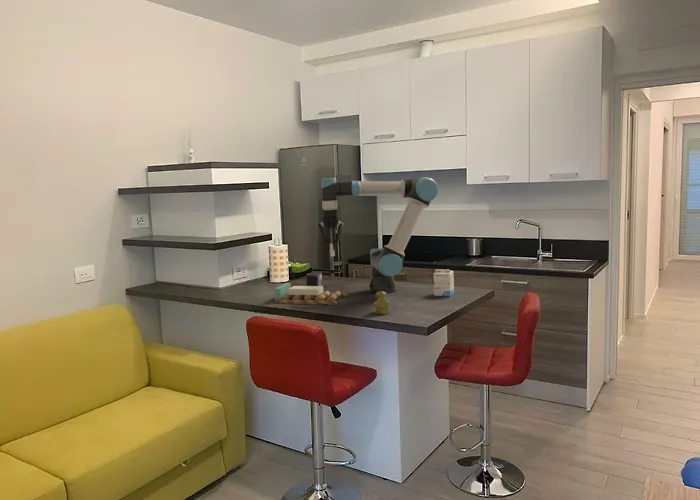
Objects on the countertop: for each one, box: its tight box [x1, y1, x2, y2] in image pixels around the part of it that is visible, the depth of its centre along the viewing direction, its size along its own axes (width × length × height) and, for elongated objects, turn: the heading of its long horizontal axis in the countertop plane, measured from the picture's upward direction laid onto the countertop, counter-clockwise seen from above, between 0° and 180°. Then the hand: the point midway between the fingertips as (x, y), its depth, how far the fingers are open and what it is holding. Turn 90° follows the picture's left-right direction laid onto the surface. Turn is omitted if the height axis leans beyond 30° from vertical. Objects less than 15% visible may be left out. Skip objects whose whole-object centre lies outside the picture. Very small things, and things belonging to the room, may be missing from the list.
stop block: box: [274, 282, 292, 300], centre depth 287 cm, size 3×14×7 cm, turn 163°
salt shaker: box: [372, 291, 391, 315], centre depth 250 cm, size 7×7×10 cm
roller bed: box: [274, 290, 348, 306], centre depth 283 cm, size 32×19×3 cm, turn 73°
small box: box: [305, 271, 323, 286], centre depth 301 cm, size 11×6×10 cm, turn 168°
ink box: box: [432, 268, 455, 297], centre depth 282 cm, size 9×8×13 cm
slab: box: [288, 285, 324, 295], centre depth 284 cm, size 16×8×3 cm, turn 74°
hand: (332, 256), depth 278 cm, fingers closed
